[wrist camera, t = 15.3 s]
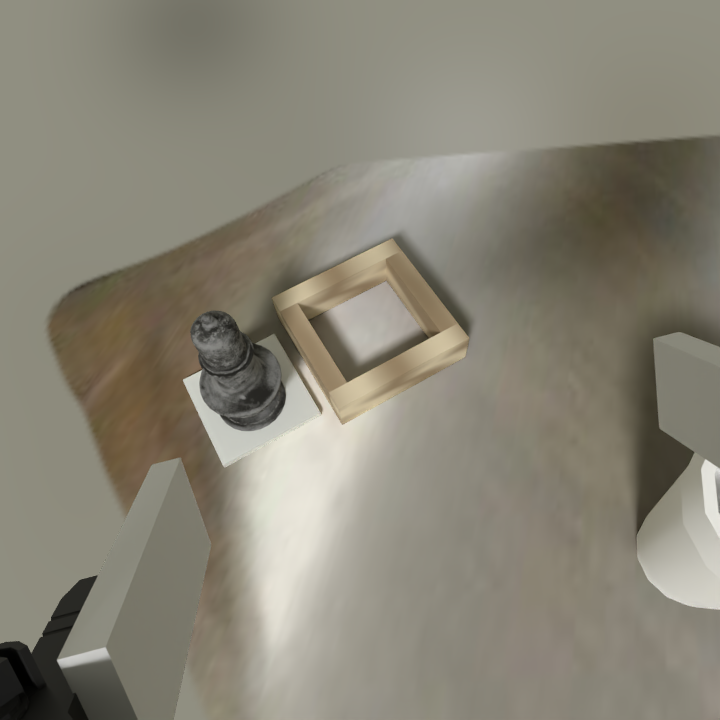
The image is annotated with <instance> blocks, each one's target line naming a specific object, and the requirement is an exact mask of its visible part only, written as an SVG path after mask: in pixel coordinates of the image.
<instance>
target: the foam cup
mask: <svg viewBox="0 0 720 720" xmlns="http://www.w3.org/2000/svg"><path fill="white" fill-rule="evenodd" d="M637 558H638V560H639V562H640V564H641V566H642V568H643V570H644V572H645V574H646V576H647V578H648V580H649V581H650V582H651V583H652V584H653V585H654V586H656V587H657V588H658V589H659V590H660V591H661V592H662V593H663V594H664V595H665V596H666V597H668V598H670V599H673V600H675V601H678V602H681V603H683V604H686V605H688V606H694V607H700V608H710V609H720V469H719V468H718V467H716V466H715V465H713V464H712V463H710V462H709V461H707V460H706V459H704V458H703V457H701V456H700V455H698V454H697V453H694V455H693V457H692V459H691V461H690V463H689V465H688V467H687V468H686V469H685V470H684V472H683V473H682V474H681V475H680V476H679V478H678V479H677V480H676V481H675V482H674V484H673V485H672V486H671V487H670V488H669V490H668V491H667V492H666V493H665V495H664V496H663V497H662V498H661V499H660V501H659V502H658V503H657V504H656V505H655V507H654V508H653V509H652V510H651V511H650V513H649V514H648V515H647V517H646V518H645V520H644V522H643V524H642V526H641V528H640V530H639V532H638V534H637Z"/></svg>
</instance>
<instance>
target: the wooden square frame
mask: <svg viewBox="0 0 720 720" xmlns="http://www.w3.org/2000/svg"><path fill="white" fill-rule="evenodd" d="M386 280H387V282H388V283H389V285H390V286H391V287H392V289H393V290H394V291H395V293H396V294H397V296H398V297H399V298H400V300H401V301H402V302H403V304H404V305H405V306H406V308H407V309H408V311H409V312H410V313H411V315H412V316H413V317H414V319H415V320H416V321H417V323H418V324H419V326H420V327H421V328H422V330H423V331H424V332H425V334H426V335H427V336H428V338H429V339H428V340H426V341H424V342H422V343H420V344H418V345H416V346H415V347H413V348H411V349H409V350H407V351H405V352H403V353H401V354H400V355H398V356H396V357H394V358H392V359H390V360H388V361H387V362H385V363H383V364H381V365H379V366H377V367H375V368H374V369H372V370H370V371H368V372H366V373H364V374H362V375H360V376H359V377H357V378H355V379H353V380H351V381H349V382H346V380H345V378H344V377H343V375H342V374H341V372H340V370H339V369H338V367H337V366H336V364H335V362H334V361H333V359H332V358H331V356H330V354H329V353H328V351H327V350H326V348H325V346H324V345H323V343H322V342H321V340H320V338H319V337H318V335H317V334H316V332H315V330H314V329H313V327H312V326H311V324H310V322H309V321H308V320H310V319H311V318H313V317H315V316H317V315H319V314H321V313H323V312H325V311H327V310H329V309H331V308H333V307H335V306H337V305H339V304H341V303H343V302H345V301H347V300H349V299H351V298H353V297H355V296H357V295H359V294H361V293H363V292H365V291H367V290H369V289H371V288H373V287H375V286H377V285H379V284H381V283H383V282H385V281H386ZM272 300H273V303H274V306H275V309H276V312H277V315H278V318H279V319H280V321H281V323H282V324H283V326H284V328H285V329H286V331H287V333H288V335H289V336H290V338H291V340H292V341H293V343H294V345H295V346H296V348H297V350H298V351H299V353H300V355H301V356H302V358H303V360H304V361H305V363H306V365H307V366H308V368H309V370H310V371H311V373H312V375H313V376H314V378H315V380H316V381H317V383H318V385H319V386H320V388H321V390H322V391H323V393H324V395H325V396H326V398H327V400H328V402H329V403H330V405H331V407H332V408H333V410H334V412H335V413H336V415H337V417H338V418H339V420H340V422H341V423H342V425H343V424H345V423H346V422H348V421H350V420H352V419H354V418H356V417H357V416H359V415H361V414H363V413H365V412H366V411H368V410H370V409H372V408H374V407H376V406H377V405H379V404H381V403H383V402H385V401H386V400H388V399H390V398H392V397H394V396H396V395H397V394H399V393H401V392H403V391H405V390H406V389H408V388H410V387H412V386H414V385H416V384H417V383H419V382H421V381H423V380H425V379H426V378H428V377H430V376H432V375H434V374H435V373H437V372H439V371H441V370H443V369H445V368H446V367H448V366H450V365H452V364H454V363H455V362H457V361H459V360H461V359H463V358H465V356H466V351H467V347H468V342H469V337H468V336H467V334H466V333H465V332H464V331H463V329H462V328H461V327H460V325H459V324H458V323H457V321H456V320H455V319H454V318H453V316H452V315H451V314H450V312H449V311H448V310H447V309H446V307H445V306H444V305H443V303H442V302H441V301H440V299H439V298H438V297H437V296H436V294H435V293H434V292H433V290H432V289H431V288H430V286H429V285H428V284H427V283H426V281H425V280H424V279H423V277H422V276H421V275H420V274H419V272H418V271H417V270H416V268H415V267H414V266H413V264H412V263H411V262H410V261H409V259H408V258H407V257H406V255H405V254H404V253H403V252H402V250H401V249H400V248H399V246H398V245H397V244H396V242H395V241H394V240H393V239H390V240H388V241H386V242H384V243H382V244H380V245H378V246H376V247H374V248H372V249H369V250H367V251H365V252H363V253H361V254H359V255H357V256H355V257H353V258H351V259H349V260H347V261H345V262H343V263H341V264H339V265H337V266H335V267H333V268H331V269H329V270H327V271H325V272H323V273H321V274H319V275H317V276H315V277H313V278H311V279H309V280H306V281H304V282H302V283H300V284H298V285H296V286H294V287H292V288H290V289H288V290H286V291H284V292H282V293H280V294H278V295H276V296H274V297H272Z"/></svg>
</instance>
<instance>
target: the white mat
mask: <svg viewBox="0 0 720 720" xmlns="http://www.w3.org/2000/svg"><path fill="white" fill-rule="evenodd" d="M255 344H258V345H261V346H263V347H265V348H266V349H268V350H270V351H271V352H272V354H273V355H274V356H275V357H276V358H277V360H278V362H279V365H280V368H281V374H282V377H281V381H282V383H283V385H284V387H285V393H286V399H285V405H284V407H283V410H282V412H281V413H280V415H279V416H278V417H277V419H276V420H275V421H273V422H272V423H271V424H270V425H268V426H266V427H264V428H262V429H259V430H255V431H240V430H237V429H234V428H232V427H230V426H229V425H227V424H226V423H225V422H224V420H223V419H222V418H221V417H220V414H217V413H216V412H214V411H213V410H211V409H210V408H209V407H208V406H207V404H206V403H205V402H204V401H203V398H202V396H201V393H200V386H199V381H200V376H201V372H202V370H201V371H199V372H197V373H195V374H193V375H191V376H190V377H188V378H186V379H184V380H183V382H184V384H185V386H186V388H187V390H188V392H189V394H190V396H191V399H192V401H193V403H194V405H195V407H196V409H197V411H198V413H199V416H200V418H201V420H202V422H203V424H204V426H205V428H206V430H207V433H208V435H209V437H210V439H211V441H212V443H213V445H214V447H215V449H216V452H217V454H218V456H219V458H220V460H221V462H222V464H223V466H224V467H227V466H229V465H230V464H232V463H234V462H236V461H238V460H240V459H241V458H243V457H245V456H247V455H249V454H251V453H252V452H254V451H256V450H258V449H260V448H262V447H264V446H265V445H267V444H269V443H271V442H273V441H275V440H276V439H278V438H280V437H282V436H284V435H286V434H287V433H289V432H291V431H293V430H295V429H297V428H299V427H300V426H302V425H304V424H306V423H308V422H310V421H311V420H313V419H315V418H317V417H319V416H321V413H320V411H319V409H318V407H317V406H316V404H315V402H314V401H313V399H312V397H311V395H310V394H309V392H308V390H307V389H306V387H305V385H304V383H303V382H302V380H301V378H300V377H299V375H298V373H297V371H296V370H295V368H294V366H293V365H292V363H291V361H290V359H289V358H288V356H287V354H286V353H285V351H284V349H283V347H282V346H281V344H280V342H279V341H278V339H277V337H276V335H275V334H273V335H271V336H269V337H267V338H265V339H263V340H261V341H259V342H257V343H255Z"/></svg>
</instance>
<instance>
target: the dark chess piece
mask: <svg viewBox="0 0 720 720" xmlns="http://www.w3.org/2000/svg"><path fill="white" fill-rule="evenodd" d="M190 332H191V339H192V341H193V344H194V345H195V347H196V348H197V350H198V351H199V355H198V357H199V363H200V365H201V367H202V369H203V370H202V372H201V376H200V381H199V386H200V393H201V396H202V398H203V401H204V402H205V403H206V404H207V406H208V407H209V408H210V409H211V410H213V411H214V412H216V413H217V414H220V417H221V418H222V419H223V420H224V422H225V423H226V424H227V425H229V426H230V427H232V428H234V429H237V430H240V431H255V430H259V429H262V428H264V427H266V426H268V425H270V424H271V423H272V422H273V421H275V420H276V419H277V417H278V416H279V415H280V413H281V412H282V410H283V407H284V405H285V399H286V393H285V387H284V385H283V383H282V381H281V377H282V374H281V368H280V365H279V362H278V360H277V358H276V357H275V356H274V355H273V354H272V352H271V351H270V350H268V349H266V348H265V347H263V346H261V345H258V344H254V343H252V342H251V340H250V338H249V337H248V336H247V335H246V334H244V333H242V332H240V330H239V328H238V326H237V324H236V322H235V320H234V319H233V318H232V317H231V316H230V315H229V314H227V313H225V312H222V311H210V312H206V313H204V314H202V315H200V316H199V317H198V318H197V319H196V320H195V321H194V323H193V325H192V327H191V331H190Z"/></svg>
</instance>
